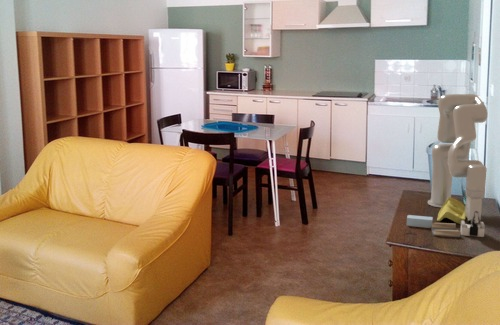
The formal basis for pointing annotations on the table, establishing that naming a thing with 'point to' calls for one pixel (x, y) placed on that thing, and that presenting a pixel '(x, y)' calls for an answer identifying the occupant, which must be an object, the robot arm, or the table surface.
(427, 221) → the light blue rectangular block
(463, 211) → the plastic component
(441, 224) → the assembly jig
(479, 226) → the white i-beam block
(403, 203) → the table surface
